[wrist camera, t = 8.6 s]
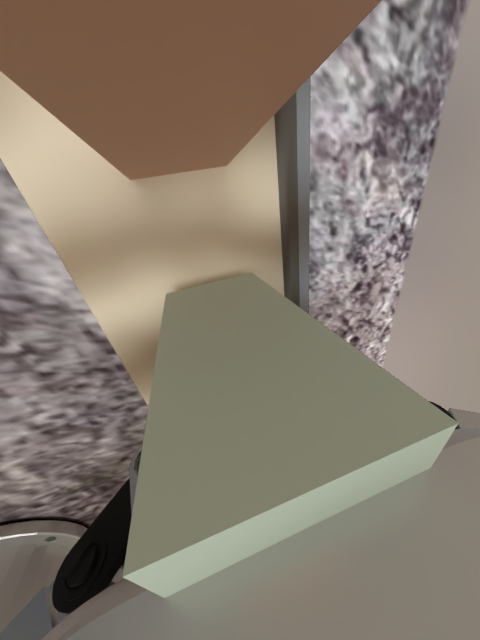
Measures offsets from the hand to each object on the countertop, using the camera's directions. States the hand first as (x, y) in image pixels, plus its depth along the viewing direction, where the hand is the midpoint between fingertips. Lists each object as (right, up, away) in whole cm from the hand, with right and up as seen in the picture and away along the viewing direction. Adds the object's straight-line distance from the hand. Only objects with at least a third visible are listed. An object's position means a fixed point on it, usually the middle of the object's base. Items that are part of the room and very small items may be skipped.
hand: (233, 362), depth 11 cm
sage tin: (0, +1, +1) cm, 2 cm away
